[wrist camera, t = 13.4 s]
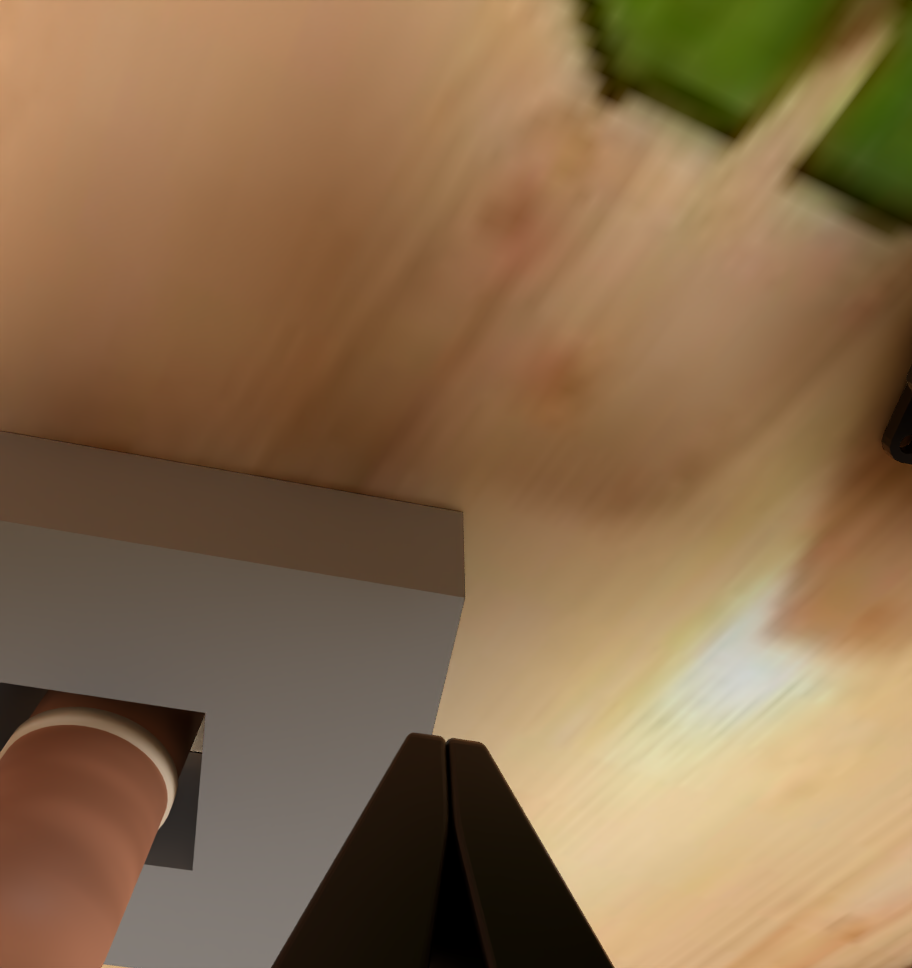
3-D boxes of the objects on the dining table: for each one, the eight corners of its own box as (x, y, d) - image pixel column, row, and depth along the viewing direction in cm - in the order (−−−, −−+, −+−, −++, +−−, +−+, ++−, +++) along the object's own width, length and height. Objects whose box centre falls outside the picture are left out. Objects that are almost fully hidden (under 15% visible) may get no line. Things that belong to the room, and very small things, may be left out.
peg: (223, 628, 23) (115, 876, 15) (213, 740, 24) (111, 1009, 17) (70, 603, 22) (-113, 846, 15) (71, 719, 24) (-93, 985, 17)
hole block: (463, 512, 21) (465, 597, 17) (379, 876, 27) (368, 995, 23) (-180, 399, 20) (-322, 466, 16) (-119, 809, 26) (-213, 926, 22)
